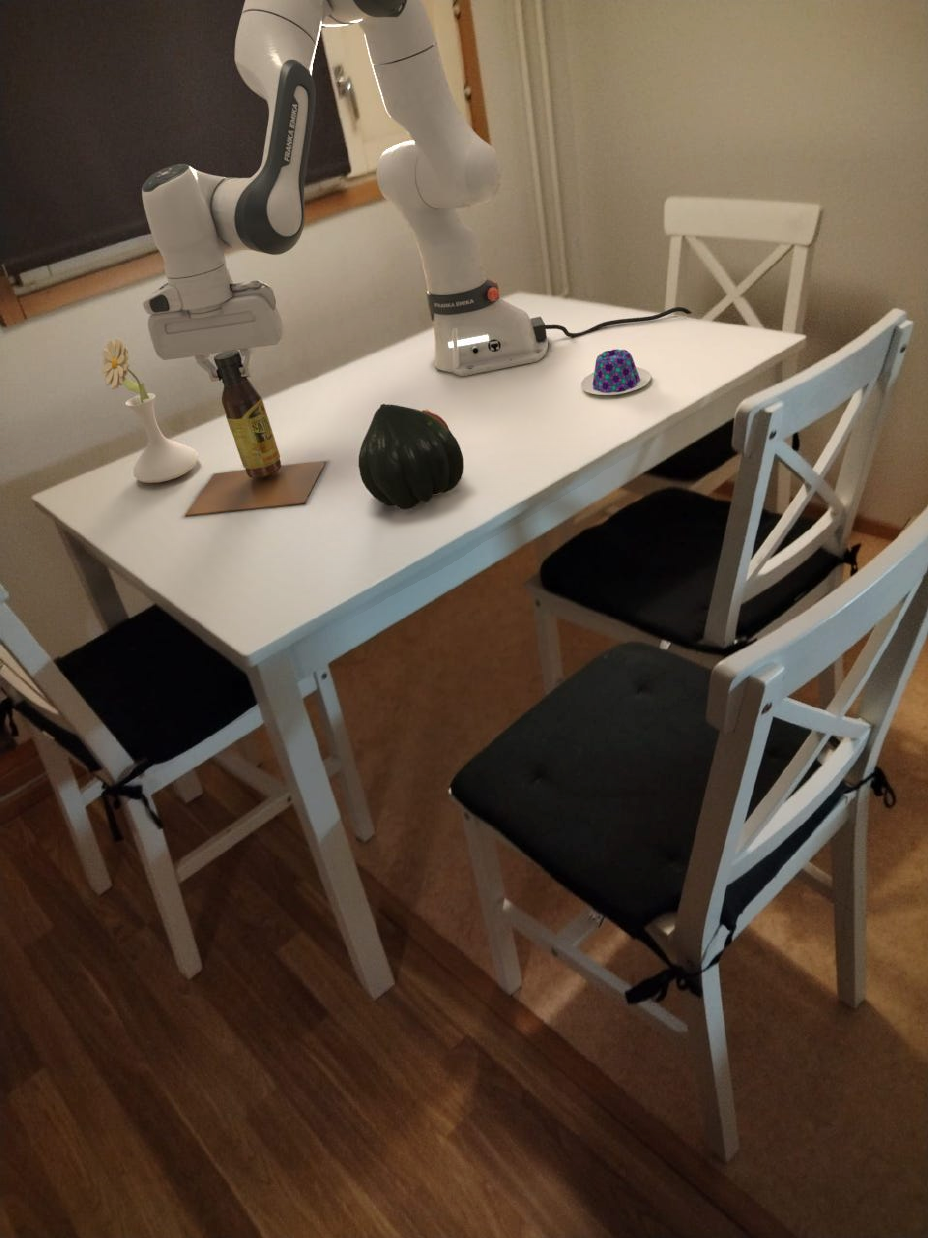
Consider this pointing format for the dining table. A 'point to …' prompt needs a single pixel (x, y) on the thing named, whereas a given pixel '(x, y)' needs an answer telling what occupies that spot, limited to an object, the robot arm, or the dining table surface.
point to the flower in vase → (147, 423)
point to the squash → (408, 457)
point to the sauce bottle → (247, 418)
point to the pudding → (615, 374)
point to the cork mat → (257, 489)
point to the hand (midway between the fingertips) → (232, 378)
